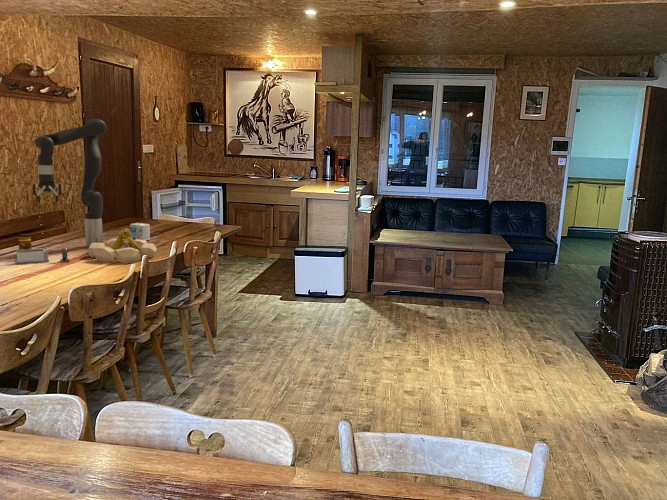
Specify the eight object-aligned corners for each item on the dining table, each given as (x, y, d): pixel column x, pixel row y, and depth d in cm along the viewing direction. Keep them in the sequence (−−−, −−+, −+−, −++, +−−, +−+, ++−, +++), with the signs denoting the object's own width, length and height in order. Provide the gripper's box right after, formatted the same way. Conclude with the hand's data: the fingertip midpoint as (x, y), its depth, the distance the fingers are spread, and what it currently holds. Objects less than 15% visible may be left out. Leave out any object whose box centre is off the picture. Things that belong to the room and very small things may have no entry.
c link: (47, 257, 294) (46, 248, 293) (48, 260, 286) (47, 251, 285) (17, 258, 287) (16, 249, 286) (17, 262, 279) (16, 253, 278)
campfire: (125, 266, 284) (124, 234, 280) (74, 259, 295) (73, 228, 291) (167, 254, 316) (167, 226, 313) (120, 248, 327) (119, 220, 324)
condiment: (25, 257, 292) (24, 235, 290) (13, 256, 294) (11, 234, 292) (36, 255, 299) (35, 233, 296) (24, 253, 301) (22, 232, 299)
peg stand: (68, 260, 291) (68, 247, 289) (69, 261, 287) (68, 248, 286) (60, 260, 289) (59, 247, 287) (61, 262, 285) (60, 249, 284)
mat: (47, 257, 296) (47, 256, 296) (49, 262, 285) (49, 261, 285) (15, 259, 288) (15, 258, 288) (16, 264, 277) (16, 263, 277)
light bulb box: (130, 240, 352) (129, 223, 349) (137, 238, 358) (136, 222, 355) (143, 242, 348) (142, 225, 345) (150, 240, 354) (150, 224, 352)
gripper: (31, 173, 293) (33, 203, 297) (61, 173, 301) (62, 203, 304) (31, 172, 300) (33, 201, 303) (59, 172, 307) (61, 201, 310)
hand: (47, 202), depth 303 cm, fingers open, 8 cm apart
